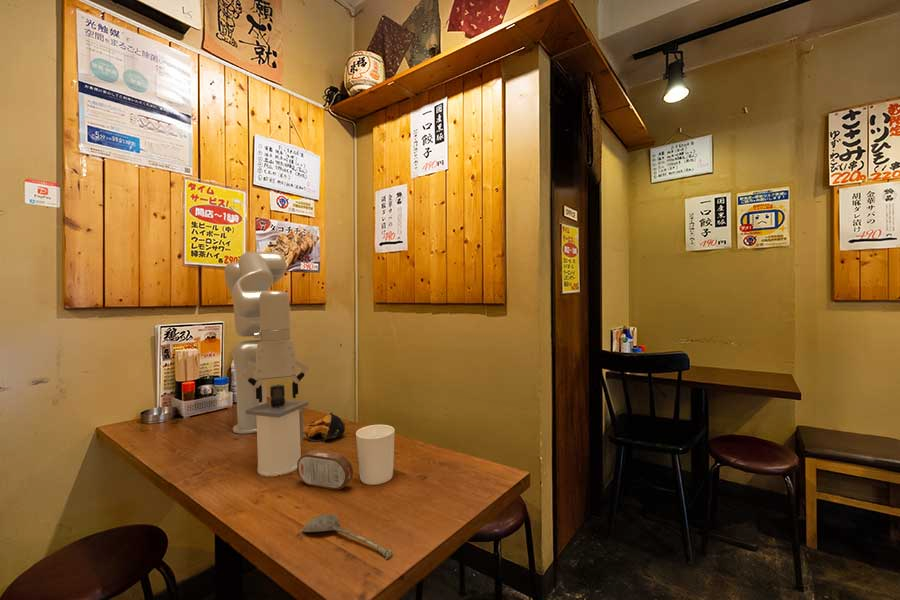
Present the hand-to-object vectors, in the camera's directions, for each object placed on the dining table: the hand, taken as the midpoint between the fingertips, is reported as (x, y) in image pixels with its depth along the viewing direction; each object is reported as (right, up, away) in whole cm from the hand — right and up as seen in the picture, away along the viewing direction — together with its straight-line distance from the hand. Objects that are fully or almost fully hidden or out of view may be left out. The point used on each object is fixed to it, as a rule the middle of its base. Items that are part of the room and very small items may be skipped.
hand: (277, 398), depth 107 cm
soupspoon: (+27, -20, -32) cm, 46 cm away
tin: (+17, -19, -11) cm, 28 cm away
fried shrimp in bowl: (+4, -19, +20) cm, 28 cm away
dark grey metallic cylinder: (0, -13, 0) cm, 13 cm away
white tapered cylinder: (+29, -19, -7) cm, 35 cm away
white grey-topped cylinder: (+1, -19, +2) cm, 19 cm away
